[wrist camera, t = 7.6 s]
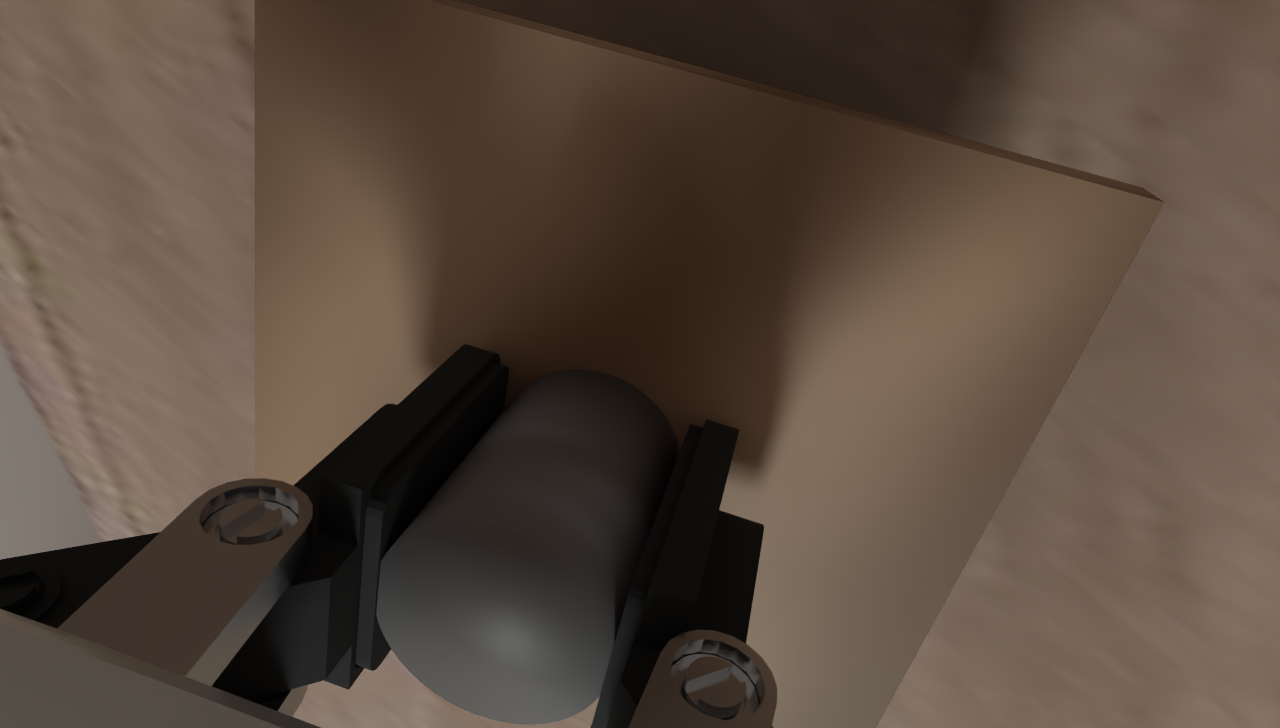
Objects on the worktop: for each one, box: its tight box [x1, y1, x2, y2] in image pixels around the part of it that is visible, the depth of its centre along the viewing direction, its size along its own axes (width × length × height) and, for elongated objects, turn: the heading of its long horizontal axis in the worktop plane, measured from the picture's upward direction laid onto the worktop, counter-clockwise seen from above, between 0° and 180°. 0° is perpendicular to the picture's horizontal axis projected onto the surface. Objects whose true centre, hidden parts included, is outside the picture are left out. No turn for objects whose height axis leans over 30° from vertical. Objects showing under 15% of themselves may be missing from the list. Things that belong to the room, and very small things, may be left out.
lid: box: [255, 0, 1164, 728], centre depth 11 cm, size 12×12×5 cm
